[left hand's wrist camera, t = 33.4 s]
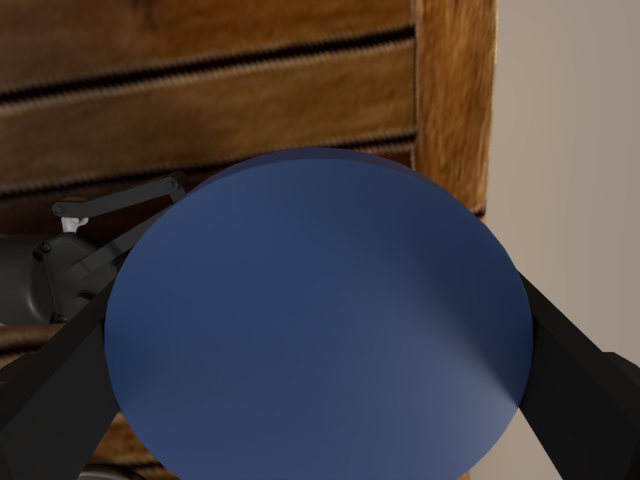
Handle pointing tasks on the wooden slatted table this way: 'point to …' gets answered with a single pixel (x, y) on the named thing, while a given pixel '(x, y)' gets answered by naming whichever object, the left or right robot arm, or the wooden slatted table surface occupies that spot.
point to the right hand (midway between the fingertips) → (280, 276)
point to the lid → (318, 326)
